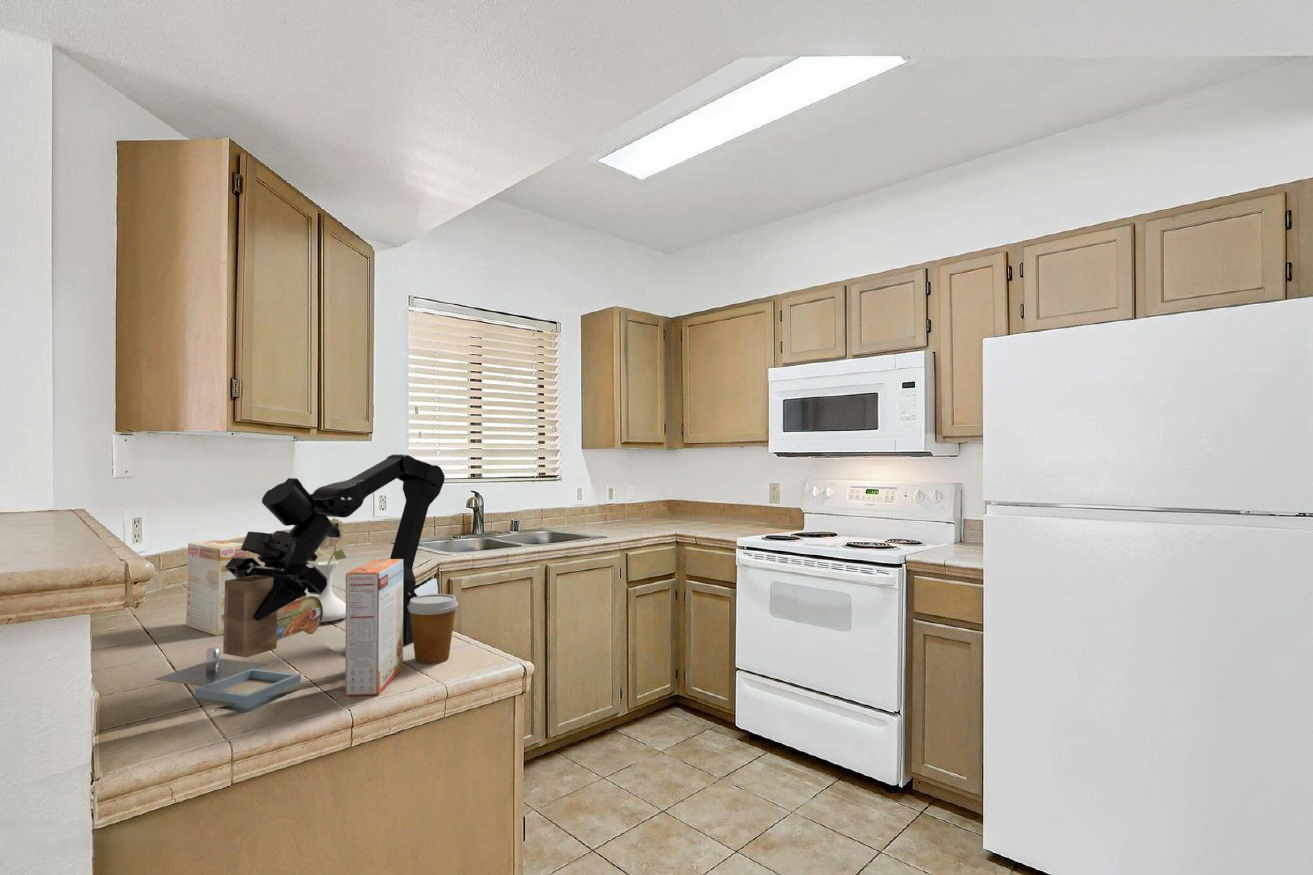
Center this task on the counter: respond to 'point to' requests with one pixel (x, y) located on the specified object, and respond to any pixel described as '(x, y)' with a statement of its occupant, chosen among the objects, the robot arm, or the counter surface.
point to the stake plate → (212, 677)
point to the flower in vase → (329, 601)
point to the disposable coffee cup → (432, 626)
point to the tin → (299, 617)
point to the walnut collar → (248, 617)
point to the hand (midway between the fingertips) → (243, 617)
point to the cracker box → (373, 626)
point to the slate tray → (254, 698)
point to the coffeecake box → (209, 583)
